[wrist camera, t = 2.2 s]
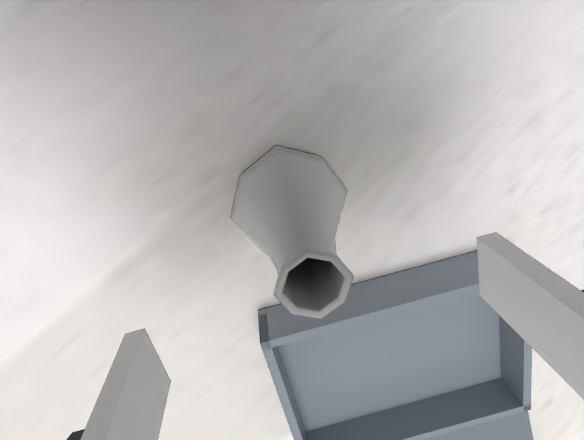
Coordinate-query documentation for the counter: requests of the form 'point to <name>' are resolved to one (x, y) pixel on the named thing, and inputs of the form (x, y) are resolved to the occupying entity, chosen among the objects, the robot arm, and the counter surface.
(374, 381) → the bin
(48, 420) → the counter surface
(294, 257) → the flask
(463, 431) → the bin lid
